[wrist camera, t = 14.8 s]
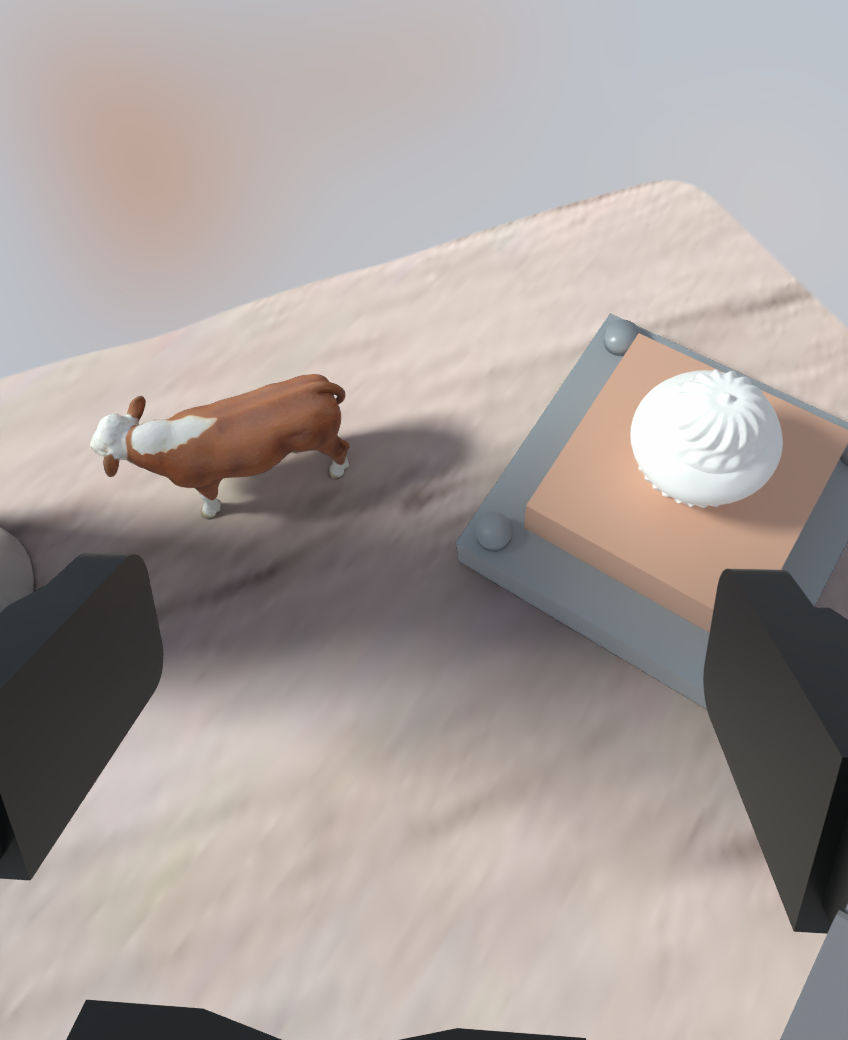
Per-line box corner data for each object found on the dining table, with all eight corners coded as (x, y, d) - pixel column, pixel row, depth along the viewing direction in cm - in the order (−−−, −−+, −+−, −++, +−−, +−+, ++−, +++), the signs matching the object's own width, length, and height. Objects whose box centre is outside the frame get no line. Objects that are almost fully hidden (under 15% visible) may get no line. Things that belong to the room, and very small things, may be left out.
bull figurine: (138, 470, 44) (65, 401, 37) (358, 418, 44) (329, 338, 37) (144, 537, 43) (67, 479, 35) (371, 484, 43) (344, 414, 35)
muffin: (720, 557, 33) (775, 496, 27) (595, 495, 35) (617, 423, 28) (776, 447, 35) (840, 364, 28) (654, 393, 36) (688, 302, 30)
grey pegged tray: (458, 561, 40) (452, 521, 35) (602, 344, 44) (618, 277, 39) (736, 727, 36) (780, 712, 31) (868, 470, 40) (928, 415, 35)
